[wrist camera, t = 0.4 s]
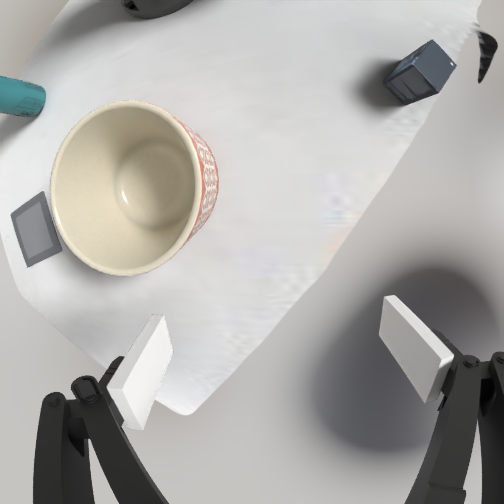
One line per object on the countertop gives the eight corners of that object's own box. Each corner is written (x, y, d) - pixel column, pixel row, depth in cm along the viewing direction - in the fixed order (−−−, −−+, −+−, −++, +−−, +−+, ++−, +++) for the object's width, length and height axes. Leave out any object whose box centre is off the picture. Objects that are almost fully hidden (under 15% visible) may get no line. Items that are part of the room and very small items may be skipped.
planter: (95, 224, 42) (41, 246, 27) (124, 112, 37) (74, 91, 23) (198, 260, 43) (174, 300, 29) (237, 141, 39) (229, 121, 24)
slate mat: (11, 213, 41) (10, 214, 40) (43, 191, 40) (42, 191, 39) (28, 266, 44) (27, 267, 43) (62, 250, 43) (60, 251, 42)
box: (401, 58, 34) (432, 38, 24) (424, 81, 35) (458, 66, 24) (381, 82, 35) (412, 63, 25) (405, 106, 36) (440, 93, 26)
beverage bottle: (49, 81, 34) (-21, 59, 15) (53, 107, 36) (-24, 92, 16) (28, 99, 35) (-42, 86, 15) (31, 125, 36) (-44, 119, 17)
